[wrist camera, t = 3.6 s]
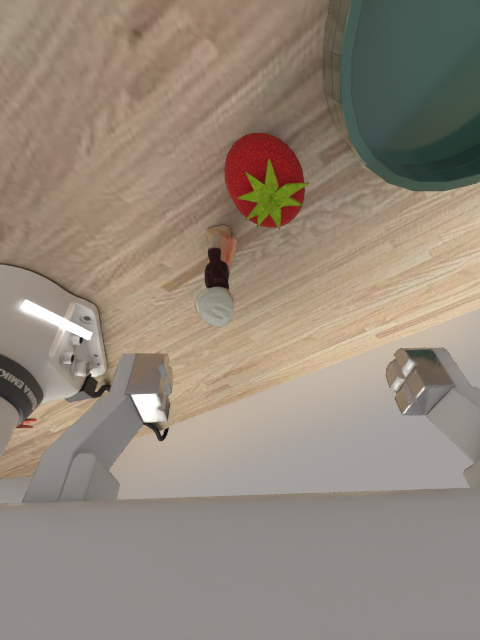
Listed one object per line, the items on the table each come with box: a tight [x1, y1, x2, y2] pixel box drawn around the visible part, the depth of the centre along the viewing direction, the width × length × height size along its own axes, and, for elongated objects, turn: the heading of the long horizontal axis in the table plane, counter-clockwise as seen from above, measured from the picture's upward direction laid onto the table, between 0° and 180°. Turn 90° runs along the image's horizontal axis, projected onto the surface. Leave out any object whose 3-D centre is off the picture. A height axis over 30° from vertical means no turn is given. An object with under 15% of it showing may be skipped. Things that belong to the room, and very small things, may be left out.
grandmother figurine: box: [195, 225, 237, 327], centre depth 29 cm, size 8×4×13 cm, turn 9°
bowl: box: [323, 0, 480, 191], centre depth 20 cm, size 20×20×5 cm
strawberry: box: [225, 133, 309, 229], centre depth 24 cm, size 6×8×10 cm
